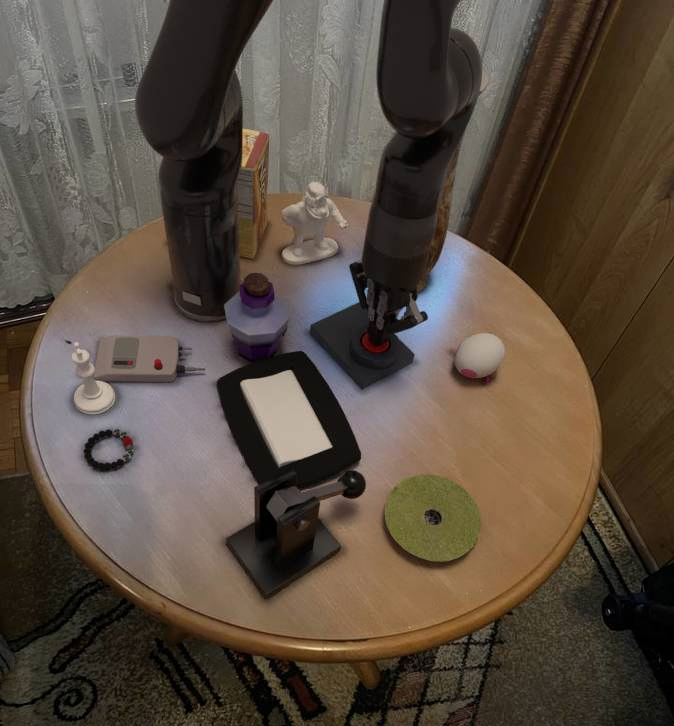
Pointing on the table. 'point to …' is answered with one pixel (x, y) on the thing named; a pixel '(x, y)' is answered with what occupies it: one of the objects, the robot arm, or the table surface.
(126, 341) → the grey electronic device
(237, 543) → the switch bracket
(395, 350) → the control box
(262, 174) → the candy box
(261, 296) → the potion bottle
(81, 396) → the chess piece
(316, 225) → the figurine
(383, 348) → the red button
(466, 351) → the stress ball
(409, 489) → the mat
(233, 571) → the table surface
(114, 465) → the bracelet
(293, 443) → the light switch
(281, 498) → the switch lever
